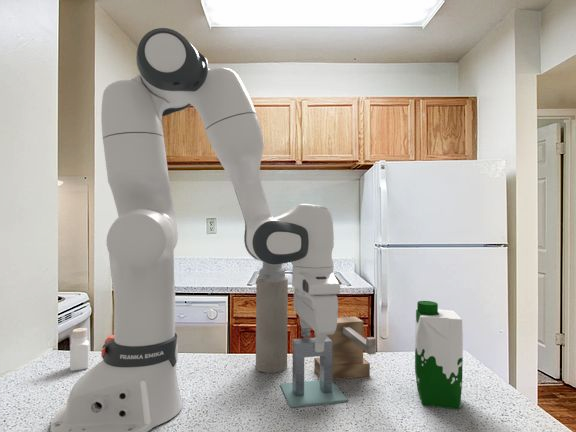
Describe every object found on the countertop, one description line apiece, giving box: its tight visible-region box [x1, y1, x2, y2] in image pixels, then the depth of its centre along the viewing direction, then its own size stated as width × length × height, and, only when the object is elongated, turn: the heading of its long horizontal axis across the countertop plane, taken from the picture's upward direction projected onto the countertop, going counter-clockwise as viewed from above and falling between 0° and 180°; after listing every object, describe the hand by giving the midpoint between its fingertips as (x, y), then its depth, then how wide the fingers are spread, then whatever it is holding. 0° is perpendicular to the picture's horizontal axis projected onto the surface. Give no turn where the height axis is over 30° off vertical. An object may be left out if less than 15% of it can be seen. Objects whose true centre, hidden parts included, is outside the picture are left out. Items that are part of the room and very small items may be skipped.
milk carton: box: [414, 300, 464, 410], centre depth 77 cm, size 9×9×20 cm
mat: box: [279, 379, 348, 409], centre depth 79 cm, size 12×10×1 cm
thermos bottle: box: [255, 262, 289, 374], centre depth 93 cm, size 8×8×28 cm
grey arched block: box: [291, 337, 333, 396], centre depth 79 cm, size 8×3×11 cm, turn 103°
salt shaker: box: [69, 327, 90, 372], centre depth 91 cm, size 4×4×10 cm
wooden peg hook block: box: [313, 316, 377, 380], centre depth 83 cm, size 12×20×14 cm, turn 13°
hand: (311, 343), depth 79 cm, fingers open, 8 cm apart
